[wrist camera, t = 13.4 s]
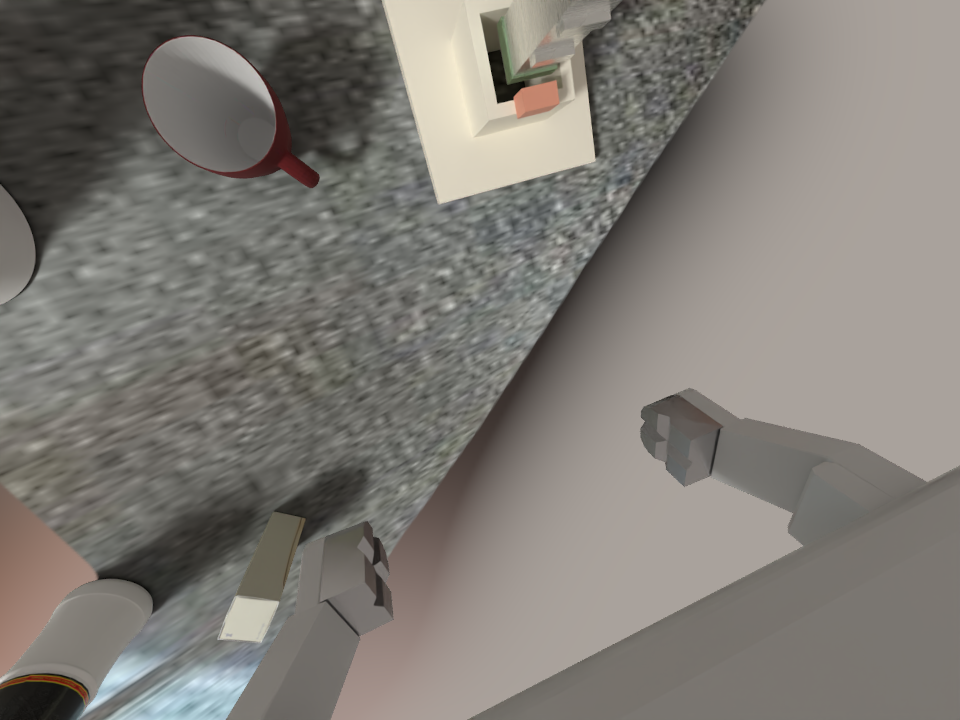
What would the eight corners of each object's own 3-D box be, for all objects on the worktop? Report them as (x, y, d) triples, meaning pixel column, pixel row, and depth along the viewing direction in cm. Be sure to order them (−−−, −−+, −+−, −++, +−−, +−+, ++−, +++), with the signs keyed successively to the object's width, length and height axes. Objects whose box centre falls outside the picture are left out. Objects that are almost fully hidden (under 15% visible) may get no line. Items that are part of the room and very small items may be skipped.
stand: (438, 204, 39) (452, 197, 30) (379, -9, 32) (374, -105, 23) (588, 163, 41) (645, 144, 32) (564, -45, 34) (627, -146, 25)
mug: (346, 141, 35) (330, 111, 26) (314, 218, 37) (288, 214, 28) (228, 68, 31) (162, 1, 22) (198, 156, 33) (124, 129, 24)
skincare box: (291, 551, 49) (261, 645, 38) (256, 545, 48) (215, 641, 37) (307, 516, 48) (281, 602, 37) (271, 508, 47) (234, 596, 35)
